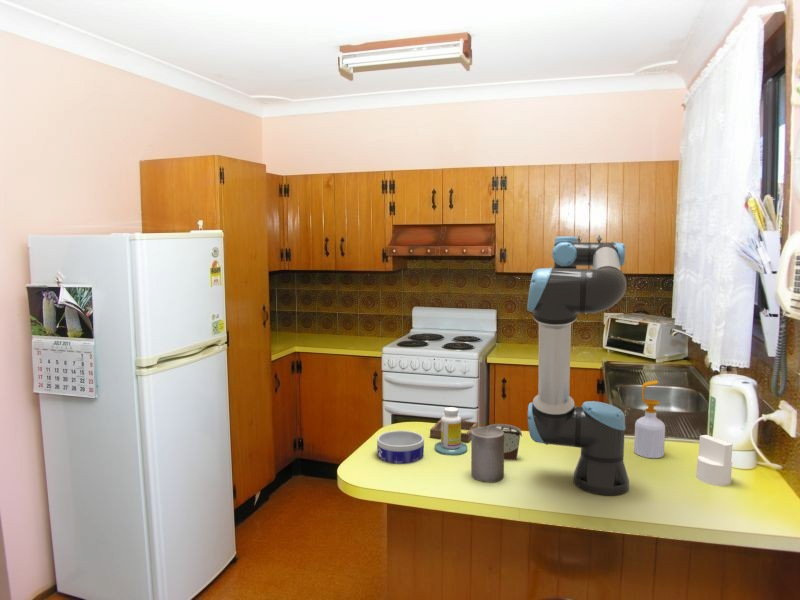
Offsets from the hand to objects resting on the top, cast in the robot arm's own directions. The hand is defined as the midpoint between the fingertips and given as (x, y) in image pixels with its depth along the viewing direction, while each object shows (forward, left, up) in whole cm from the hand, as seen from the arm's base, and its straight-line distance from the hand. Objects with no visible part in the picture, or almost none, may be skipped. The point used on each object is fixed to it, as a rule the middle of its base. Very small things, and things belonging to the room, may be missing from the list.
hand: (562, 342), depth 201 cm
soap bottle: (-4, -29, -35) cm, 46 cm away
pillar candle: (-41, +17, -35) cm, 56 cm away
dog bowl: (-35, +47, -35) cm, 68 cm away
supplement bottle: (-24, +33, -34) cm, 53 cm away
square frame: (-9, +36, -35) cm, 51 cm away
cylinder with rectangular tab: (-19, -46, -35) cm, 61 cm away
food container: (-24, +16, -35) cm, 45 cm away
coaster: (-24, +33, -35) cm, 54 cm away
